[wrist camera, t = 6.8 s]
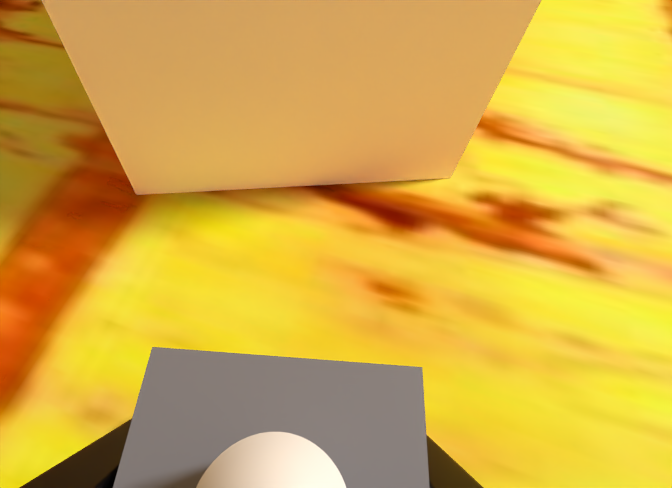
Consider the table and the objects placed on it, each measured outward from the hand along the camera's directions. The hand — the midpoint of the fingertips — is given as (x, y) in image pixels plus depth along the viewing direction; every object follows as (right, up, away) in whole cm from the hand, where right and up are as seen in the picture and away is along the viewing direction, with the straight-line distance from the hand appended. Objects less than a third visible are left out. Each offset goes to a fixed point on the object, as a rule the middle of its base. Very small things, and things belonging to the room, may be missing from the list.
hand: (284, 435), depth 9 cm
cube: (-3, +18, +27) cm, 33 cm away
